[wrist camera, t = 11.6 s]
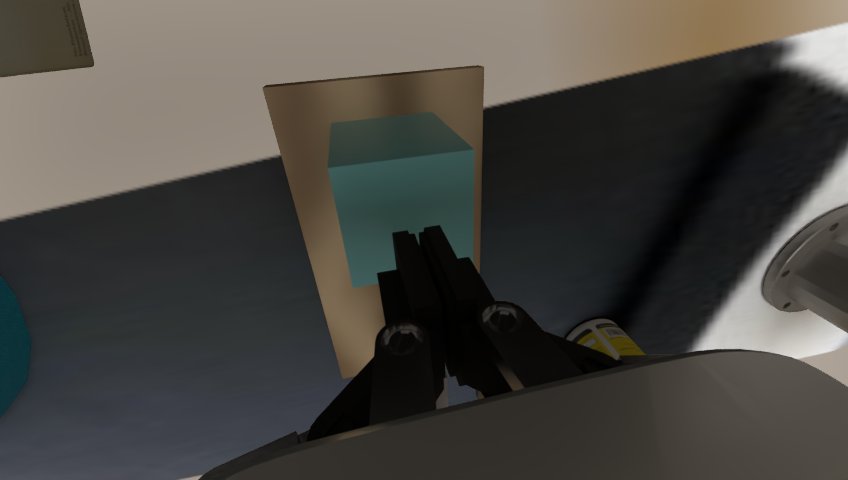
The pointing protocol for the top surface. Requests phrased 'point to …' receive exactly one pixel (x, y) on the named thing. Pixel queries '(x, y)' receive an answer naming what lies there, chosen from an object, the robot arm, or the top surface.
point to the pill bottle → (604, 338)
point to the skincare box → (42, 37)
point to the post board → (312, 192)
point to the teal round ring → (12, 347)
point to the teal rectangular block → (399, 187)
